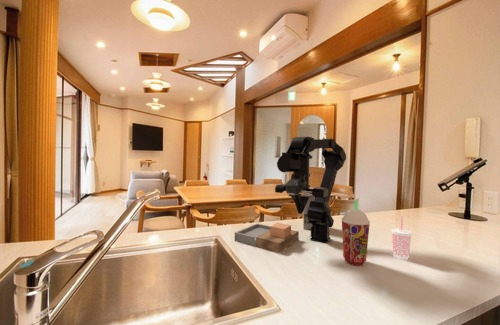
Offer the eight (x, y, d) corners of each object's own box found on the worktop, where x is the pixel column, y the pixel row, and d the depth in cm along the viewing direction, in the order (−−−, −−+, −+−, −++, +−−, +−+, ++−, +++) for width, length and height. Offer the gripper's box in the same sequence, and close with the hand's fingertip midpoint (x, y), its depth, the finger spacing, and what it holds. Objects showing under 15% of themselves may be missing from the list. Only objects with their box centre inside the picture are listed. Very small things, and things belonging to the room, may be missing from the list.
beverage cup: (387, 255, 84) (388, 215, 83) (394, 251, 88) (396, 213, 87) (407, 262, 79) (408, 219, 78) (414, 257, 83) (415, 216, 82)
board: (298, 239, 98) (298, 231, 98) (279, 252, 85) (279, 243, 85) (276, 234, 104) (276, 226, 104) (256, 246, 91) (256, 237, 91)
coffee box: (317, 230, 111) (318, 195, 111) (303, 229, 113) (303, 194, 112) (316, 224, 120) (316, 192, 120) (302, 223, 122) (303, 191, 121)
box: (276, 234, 104) (276, 227, 104) (255, 246, 91) (255, 237, 91) (256, 230, 110) (256, 223, 110) (234, 240, 97) (234, 232, 97)
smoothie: (366, 270, 73) (368, 204, 72) (338, 263, 77) (339, 201, 77) (370, 260, 80) (371, 200, 79) (343, 254, 84) (344, 197, 84)
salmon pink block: (291, 234, 95) (291, 225, 95) (283, 238, 90) (284, 229, 90) (277, 231, 98) (277, 222, 98) (269, 235, 93) (270, 226, 93)
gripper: (267, 171, 87) (267, 214, 88) (318, 174, 77) (317, 222, 77) (282, 169, 97) (281, 208, 97) (329, 172, 86) (328, 215, 86)
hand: (300, 213), depth 89 cm, fingers closed
